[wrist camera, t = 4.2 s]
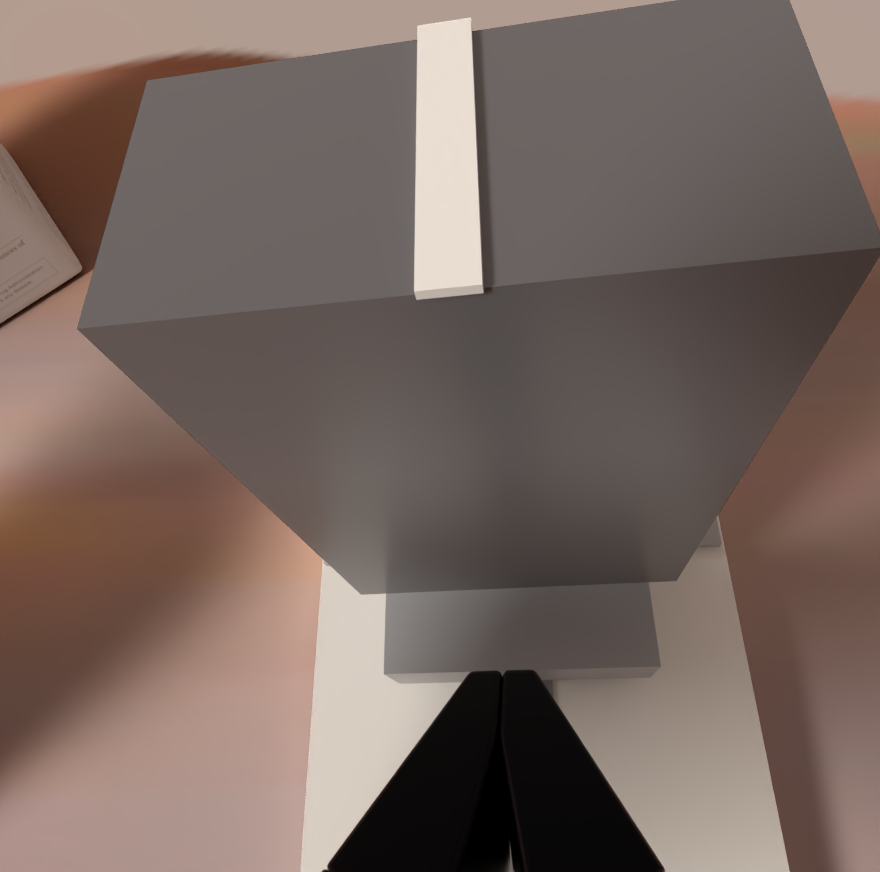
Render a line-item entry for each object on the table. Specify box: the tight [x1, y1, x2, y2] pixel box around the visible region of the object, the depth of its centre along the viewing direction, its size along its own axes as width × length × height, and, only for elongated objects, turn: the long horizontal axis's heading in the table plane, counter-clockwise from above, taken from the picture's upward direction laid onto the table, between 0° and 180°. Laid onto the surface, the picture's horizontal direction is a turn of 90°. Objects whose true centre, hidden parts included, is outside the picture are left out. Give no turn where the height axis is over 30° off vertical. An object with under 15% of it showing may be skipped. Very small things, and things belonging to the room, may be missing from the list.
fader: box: [77, 0, 880, 684], centre depth 10 cm, size 6×6×11 cm
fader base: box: [300, 516, 790, 872], centre depth 17 cm, size 20×9×2 cm, turn 0°
